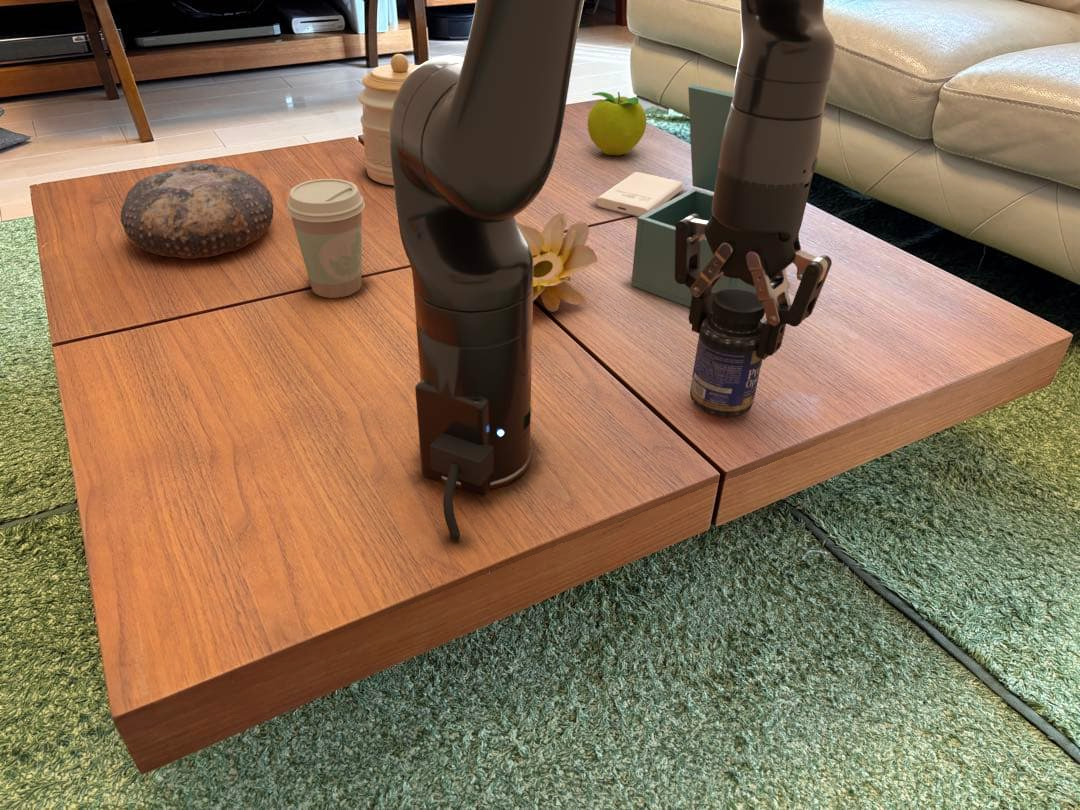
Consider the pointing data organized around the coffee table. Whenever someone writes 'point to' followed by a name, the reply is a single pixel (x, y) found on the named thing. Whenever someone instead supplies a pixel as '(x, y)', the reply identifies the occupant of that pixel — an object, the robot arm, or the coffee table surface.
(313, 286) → the coffee cup
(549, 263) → the decorative flower
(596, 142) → the fruit
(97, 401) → the coffee table surface
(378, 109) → the jar
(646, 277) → the chest
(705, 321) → the pill bottle
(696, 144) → the lid
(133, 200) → the sea urchin shell
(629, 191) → the hard drive
